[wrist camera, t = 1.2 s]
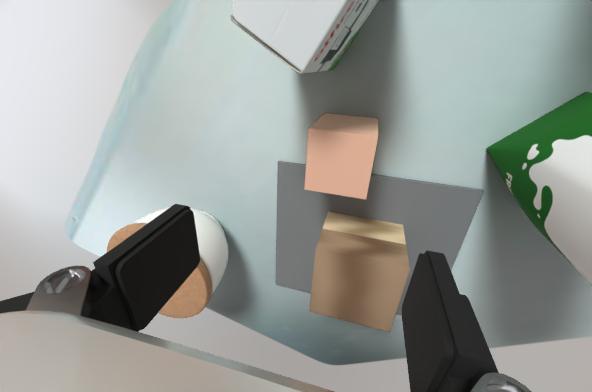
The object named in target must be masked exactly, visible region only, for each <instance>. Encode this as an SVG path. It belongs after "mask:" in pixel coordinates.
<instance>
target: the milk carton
mask: <svg viewBox="0 0 592 392" xmlns="http://www.w3.org/2000/svg"><path fill="white" fill-rule="evenodd" d="M487 150H488V152H489V154H490V156H491V157H492V159H493V161H494V163H495V165H496V166H497V168H498V170H499V172H500V174H501V175H502V177H503V179H504V181H505V182H506V184H507V186H508V188H509V189H510V191H511V193H512V194H513V196H514V197H515V199H516V201H517V202H518V204H519V205H520V207H521V208H522V209H523V211H524V212H525V214H526V215H527V216H528V218H529V219H530V220H531V222H532V223H533V224H534V225H535V226H536V227H537V229H538V230H539V231H540V232H541V233H542V234H543V235H544V236H545V237H546V238H547V239H548V240H549V241H550V242H551V243H552V244H553V245H554V246H555V247H556V248H557V249H558V250H559V251H560V253H561V254H562V255H563V256H564V257H565V258H566V259H567V260H568V261H569V262H570V263H571V264H572V265H573V266H574V267H575V268H576V269H577V270H578V271H579V272H580V273H581V274H582V275H583V276H584V277H585V278H586V280H587V281H588V282H589V283H590V284H591V285H592V93H588V92H584V93H583V94H581V95H579V96H577V97H576V98H574V99H572V100H570V101H569V102H567V103H565V104H563V105H562V106H560V107H558V108H556V109H555V110H553V111H551V112H549V113H548V114H546V115H544V116H542V117H541V118H539V119H537V120H535V121H533V122H532V123H530V124H528V125H526V126H525V127H523V128H521V129H519V130H518V131H516V132H514V133H512V134H511V135H509V136H507V137H505V138H504V139H502V140H500V141H498V142H497V143H495V144H493V145H491V146H490V147H488V148H487Z"/></svg>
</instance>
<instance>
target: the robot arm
mask: <svg viewBox="0 0 592 392" xmlns="http://www.w3.org/2000/svg"><path fill="white" fill-rule="evenodd" d="M93 263H94V266H95V269H94V270H92V271H91V270H90V269H89V268H87V267H85V266H71V267H67V268H64V269H60V270H58V271H56V272H54V273H52V274H50V275H49V276H47V277H46V278H44V279H43V280H42V281H41V282H40V283H39V285H38V286H37V288H36V290H35V292H32V293H29V294H25V295H21V296H18V297H14V298H11V299H7V300H3V301H0V392H334V391H330V390H327V389H324V388H321V387H318V386H314V385H311V384H308V383H305V382H301V381H298V380H295V379H292V378H288V377H285V376H282V375H279V374H275V373H272V372H269V371H266V370H263V369H259V368H256V367H253V366H249V365H246V364H243V363H239V362H236V361H233V360H230V359H226V358H223V357H219V356H216V355H213V354H210V353H206V352H203V351H200V350H197V349H193V348H190V347H186V346H183V345H180V344H177V343H173V342H170V341H166V340H163V339H160V338H156V337H153V336H150V335H146V334H143V333H139V332H138V331H139V330H142V329H144V328H145V327H146V326H147V325H148V324H149V323H150V321H151V320H152V319H153V318H154V317H155V315H156V314H157V313H158V312H159V311H160V310H161V309H162V307H163V306H164V305H165V304H166V303H167V302H168V300H169V299H170V298H171V297H172V296H173V295H174V293H175V292H176V291H177V290H178V289H179V288H180V286H181V285H182V284H183V283H184V282H185V281H186V279H187V278H188V277H189V276H190V275H191V274H192V272H193V271H194V270H195V269H196V268H197V266H198V265H199V263H200V253H199V246H198V240H197V233H196V226H195V219H194V213H193V211H192V210H191V209H190V207H188V206H184V205H179V204H175V205H173V206H171V207H170V208H169V209H167V210H166V211H164V212H163V213H162V214H160V215H159V216H157V217H156V218H155V219H153V220H152V221H150V222H149V223H148V224H146V225H145V226H143V227H142V228H141V229H139V230H138V231H136V232H135V233H134V234H132V235H131V236H129V237H128V238H127V239H125V240H124V241H123V242H121V243H120V244H118V245H117V246H116V247H114V248H113V249H111V250H110V251H109V252H107V253H106V254H104V255H103V256H102V257H100V258H99V259H97V260H96V261H95V262H93ZM402 321H403V330H404V338H405V347H406V356H407V364H408V373H409V381H410V390H411V392H531V391H530V390H529V389H528V388H527V387H526V386H524V385H523V384H521V383H520V382H518V381H517V380H515V379H513V378H511V377H509V376H507V375H504V374H499V373H498V370H497V368H496V365H495V363H494V360H493V358H492V355H491V353H490V351H489V348H488V346H487V343H486V341H485V338H484V336H483V333H482V331H481V328H480V326H479V323H478V321H477V319H476V316H475V314H474V311H473V309H472V306H471V304H470V301H469V300H468V298H467V297H466V296H465V295H461V294H459V291H458V289H457V286H456V283H455V281H454V278H453V275H452V273H451V270H450V267H449V265H448V262H447V259H446V257H445V255H444V254H443V253H439V252H433V251H428V250H427V251H426V252H425V253H424V254H422V253H420V254H419V256H418V259H417V262H416V265H415V268H414V271H413V274H412V277H411V280H410V283H409V286H408V289H407V292H406V295H405V298H404V301H403V304H402Z"/></svg>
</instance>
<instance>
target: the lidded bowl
mask: <svg viewBox="0 0 592 392" xmlns="http://www.w3.org/2000/svg"><path fill="white" fill-rule="evenodd" d="M169 208H170V207H168V208H164V209H160V210H157V211H154V212H152V213H150V214H148V215H146V216H144V217H142V218H140V219H138V220H137V221H135V222H133V223H132V224H130V225H127V226H126V227H124V228H122V229H120V230H119V231H117V232H116V233H115V234H114V235H113V236H112V237H111V239H110V240H109V243H108V247H107V252H109V251H110V250H111V249H113V248H114V247H116V246H117V245H118V244H120V243H121V242H123V241H124V240H125V239H127V238H128V237H129V236H131V235H132V234H134V233H135V232H136V231H138V230H139V229H141V228H142V227H143V226H145V225H146V224H148V223H149V222H150V221H152V220H153V219H155V218H156V217H157V216H159V215H160V214H162V213H163V212H164V211H166V210H167V209H169ZM190 209H191V210H192V211H193V213H194V219H195V226H196V233H197V240H198V246H199V253H200V263H199V265H198V266H197V268H196V269H195V270H194V271H193V272H192V274H191V275H190V276H189V277H188V278H187V279H186V281H185V282H184V283H183V284H182V285H181V286H180V288H179V289H178V290H177V291H176V292H175V293H174V295H173V296H172V297H171V298H170V299H169V300H168V302H167V303H166V304H165V305H164V306H163V307H162V309H161V310H160V311H159V312H158V313H159V314H162V315H165V316H169V317H173V318H188V317H192V316H194V315H196V314H198V313H200V312H201V311H202V310H203V309H204V307H205V306H206V305H207V303H208V302H209V300H210V298H211V295H212V294H213V292H214V291H215V290H216V288H217V286H218V285H219V283H220V281H221V279H222V277H223V275H224V272H225V270H226V267H227V262H228V256H229V254H228V243H227V240H226V237H225V232H224V230H223V228H222V226H221V224H220V223H219V222H218V221H217V220H216V219H215V218H214V217H213V216H212V215H210V214H209V213H207V212H204V211H202V210H197V209H194V208H190Z"/></svg>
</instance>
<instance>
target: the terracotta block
mask: <svg viewBox="0 0 592 392" xmlns="http://www.w3.org/2000/svg"><path fill="white" fill-rule="evenodd" d="M377 141H378V118H369V117H359V116H349V115H339V114H329V113H324V114H323V115H322V116H321V117H320V118H319V119H318V120H317V121H316V122H315V123H314V124H313V125H312V126H311V127H310V128H309V131H308V145H307V159H306V174H305V188H304V190H311V191H317V192H323V193H329V194H335V195H341V196H347V197H354V198H360V199H366V198H367V192H368V187H369V182H370V177H371V172H372V166H373V161H374V156H375V151H376V146H377Z"/></svg>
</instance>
